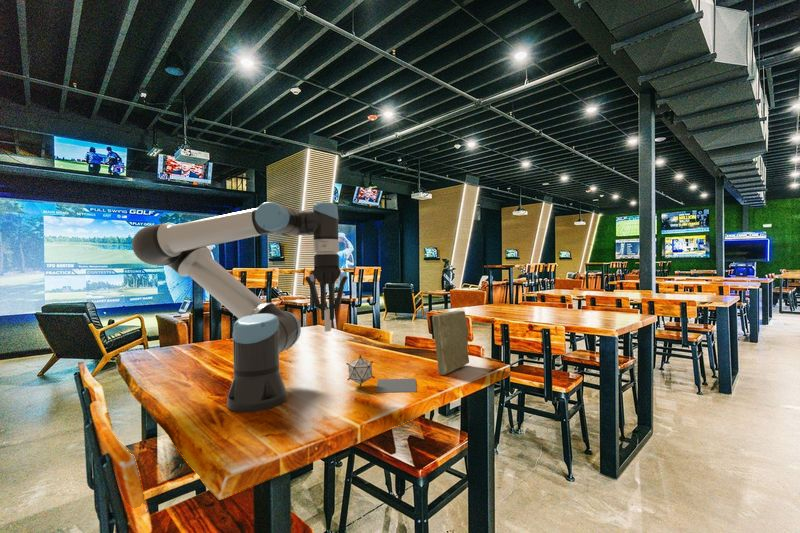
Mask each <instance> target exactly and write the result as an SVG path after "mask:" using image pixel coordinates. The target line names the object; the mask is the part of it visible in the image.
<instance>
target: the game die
mask: <svg viewBox="0 0 800 533" xmlns="http://www.w3.org/2000/svg"><path fill="white" fill-rule="evenodd" d="M373 363H374V360H372V361H368V360H367V359H365V358H363V357H362V355H361V354H360V355H359V357H358V358H356V359H355V360H352V362H350V363H348V362H346V365H347V366H348V378H347V381H353V382H355V383H357V384H359V386H360V387H362V384H364V383H365V382H367V381H369V380H370V379H376V378H375V376H373V368H372V366H373V365H372V364H373Z"/></svg>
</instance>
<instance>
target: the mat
mask: <svg viewBox="0 0 800 533" xmlns="http://www.w3.org/2000/svg"><path fill="white" fill-rule="evenodd" d="M417 389H418V388H417V381H416V378H377V384H376V388H375V394H380V393H381V394H384V393H385V394H386V393H387V394H388V393H392V394H393V393H418V392H417Z"/></svg>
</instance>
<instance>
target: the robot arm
mask: <svg viewBox="0 0 800 533" xmlns="http://www.w3.org/2000/svg"><path fill="white" fill-rule="evenodd" d="M339 220H340V218H339V212H338V206H337V205H336V204H335V203H333V202H329V201H328V202H326V201H324V202H322V201H321V202H315V203H313V204H312V209H309V210H295V209H292V208H290V207H287V206H284V205H283V204H280V203H277V202H271V201H266V202H263V203H261V204H260V205H259V206H257V207H256V208H251V209H250V208H249V209H246V210H241V211H236V212H231V213H227V214H222V215H218V216H212V217H207V218H206V217H205V218H202V219H197V220H192V221H187V222H182V223H177V224H172V223H170V222H164V223H160V224H153V225H149V226H148V225H147V226H146V227H145V226H144V227H143V228H141V229H139V230H138V231H137V232H136V233H135V234H134V236H133V238H132V242H131V248H132V250H133V253H134V255H135V256H136V257H137V259H139V260H140V261H141V262H143V263H145V264H148V265H151V266H168V267H170V268H171V269H172V270H173V271H175V272H176V273H177V274H178V275H179V276H181V277H189V278H191V279H192V281H194V282H195V283H197V284H198V285H199V286H200V287H201V288H202V289H204V291H205V292H207V293H208V294H209V295H211V296H212V297H213V298H214V299H215V300H216V301H218V302H219V303H220V304H221V305H222V306H224V307H225V308H226V309H227V310H228V311H229V312H230V313H231V314H232V315H234V316H235V317H236V318H237V320H236V321H235V322H234V323H233V328H232V329H233V330H232V350H233V351H232V353H233V356H232V357H233V379H232V382H231V384H230V388H229V390H228V395H227V398H226V399H227V400H226V406H227V409H229V410H230V411H232V412H237V413H253V412H254V413H255V412H261V411H267V410H269V409H274V408H276V407H278V406H280V405H281V404H283V403H284V402H286V400H287V389H286V385H285V384H284V380H283V378H282V374H281V372H280V354H281V353H283V352H284V351H286V350H289V349H291V348H292V347H293V346H294V345H295V343H297V341H298V340H299V338H300V336H301V331H302V330H301V328H302V327H301V323H300V321H299V319H298V317H297V316H296V315H295V314H293V313H291V312H289V311H285V310H284V311H283V310H281V309H280V308H279V307H278V306H277V305H276V304H274V303H273V302H264V301H263V300H262V299H261V298H260V297H258V295H256V294H255V293H254V292H253V291H252V290H250V289H249V288H248V287H247V286H246V285H244V284H243V283H242V282H241V281H240V280H239V279H237V277H235V276H234V275H232V274H231V272H230V271H228V270H227V269H225V268H224V266H222V265H221V264H220V263H219V262H217V261H216V260H215V259H214V258H213V257H211V249H209V248H208V247H210V246H215V245H220V244H225V243H229V242H234V241H239V240H244V239H248V238H253V237H259V236H265V235H269V234H270V235H271V234H276V235H278V236H281V237H282V236H285V237H291V236H307V235H308V236H313V253H315V254H314V256H313V271H312V274H310V275H309V276H306V277H305V281H306V283H307V284H308V286H309V290H310V294H311V297H312V302H313V305H314V308H316V309H320V319H321V321H324V332H331V331H332V321H333V320H335V309H336V308H339V307H341V303H342V298H343V294H344V290H345V286H346V282H348V279H349V277H348V275H344V274H343V273H342V271H341V269H340V255H339V254H338V253H339V252H340V245H339V244H340V241H339ZM338 279H339V281H340V282H339V285H338V291H337V293H336V294H337V295H336V298H335V283H336V282H337V280H338ZM315 281H317V282H318V284H319V288H320V289H319V291H320V293H319V295H318V291H317V287H316V283H315ZM327 285H328V286H327ZM327 287H328V308H327V294H326V293H327ZM319 296H320V297H319Z"/></svg>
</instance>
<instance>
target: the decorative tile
mask: <svg viewBox="0 0 800 533" xmlns="http://www.w3.org/2000/svg"><path fill="white" fill-rule="evenodd" d="M431 320H432V327H433V328H432V330H433V336H434V345H435V352H436V361H437V362H436V363H437V373H438V375H439V376H441V375H442V376H443V375H448V374H449V373H451V372H454V371H455V370H457V369H460V368H462V367H464V366H466V365H467V364H469V363H470V358H469V351H468V344H469V340H468V337H469V331H470V330H469V329H470V328H469V327H468V322H467V317H466V311H465V310H453V311H447V312H442V313H438V314H437V313H436V314H433V315H432V319H431Z"/></svg>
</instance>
